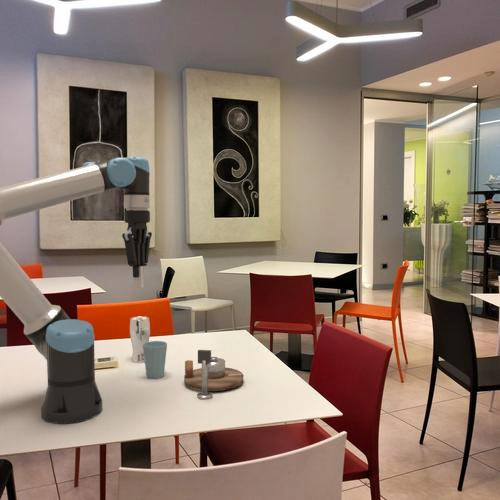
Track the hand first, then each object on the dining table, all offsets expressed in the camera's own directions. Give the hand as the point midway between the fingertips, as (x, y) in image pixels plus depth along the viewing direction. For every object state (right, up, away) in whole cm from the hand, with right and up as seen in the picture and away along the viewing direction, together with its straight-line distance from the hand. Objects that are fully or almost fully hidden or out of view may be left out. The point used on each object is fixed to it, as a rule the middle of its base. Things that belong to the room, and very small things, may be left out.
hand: (138, 287), depth 157 cm
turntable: (+23, -29, +2) cm, 37 cm away
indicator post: (+21, -30, -10) cm, 38 cm away
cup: (+3, -29, +9) cm, 31 cm away
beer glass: (-5, -28, +27) cm, 39 cm away
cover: (+23, -27, +2) cm, 35 cm away
